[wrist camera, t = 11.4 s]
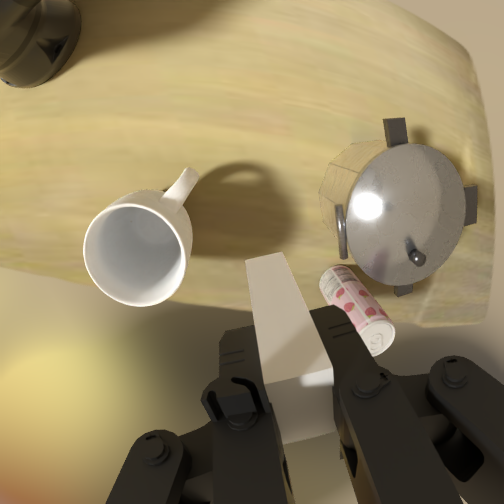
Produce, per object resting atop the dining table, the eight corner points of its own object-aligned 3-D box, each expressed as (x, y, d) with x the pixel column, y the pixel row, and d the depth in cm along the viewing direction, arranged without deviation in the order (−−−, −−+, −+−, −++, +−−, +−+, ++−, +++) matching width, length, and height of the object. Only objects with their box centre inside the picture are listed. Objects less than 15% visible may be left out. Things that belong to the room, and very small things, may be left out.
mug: (165, 139, 36) (137, 143, 24) (233, 189, 39) (236, 215, 27) (107, 229, 40) (67, 268, 27) (169, 272, 43) (151, 325, 31)
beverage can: (331, 303, 47) (366, 366, 33) (311, 280, 45) (344, 342, 31) (359, 281, 46) (403, 337, 32) (341, 256, 44) (385, 310, 30)
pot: (306, 126, 37) (332, 125, 27) (408, 115, 37) (451, 116, 27) (329, 278, 45) (353, 314, 36) (417, 254, 45) (452, 281, 36)
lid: (325, 153, 29) (333, 156, 26) (469, 138, 28) (483, 140, 25) (342, 297, 35) (349, 309, 33) (468, 260, 34) (480, 268, 32)
